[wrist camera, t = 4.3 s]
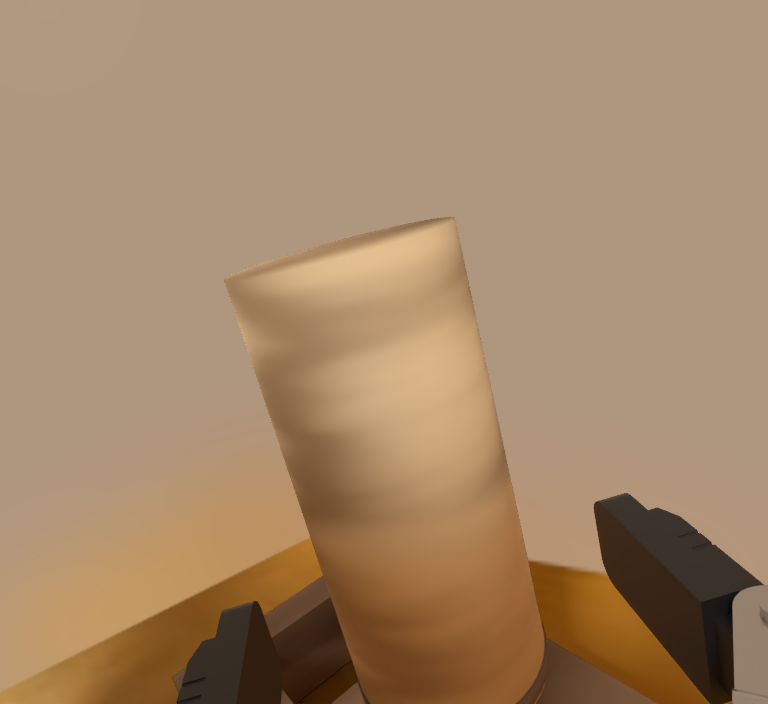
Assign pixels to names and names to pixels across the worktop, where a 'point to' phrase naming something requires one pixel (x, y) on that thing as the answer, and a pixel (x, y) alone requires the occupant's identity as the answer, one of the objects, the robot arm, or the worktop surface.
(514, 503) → the stool leg
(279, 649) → the seat board
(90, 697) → the worktop surface
